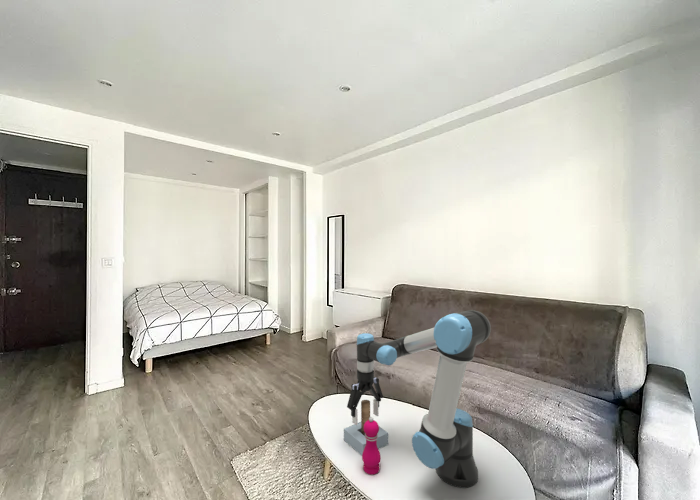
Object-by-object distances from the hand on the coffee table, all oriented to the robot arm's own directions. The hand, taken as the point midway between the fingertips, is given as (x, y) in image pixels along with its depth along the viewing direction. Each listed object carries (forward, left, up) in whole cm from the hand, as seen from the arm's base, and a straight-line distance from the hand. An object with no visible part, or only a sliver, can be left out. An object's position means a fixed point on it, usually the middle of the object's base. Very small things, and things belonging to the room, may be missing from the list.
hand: (365, 419), depth 135 cm
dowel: (0, 0, -9) cm, 9 cm away
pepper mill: (-14, +9, -10) cm, 20 cm away
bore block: (0, 0, -10) cm, 10 cm away
